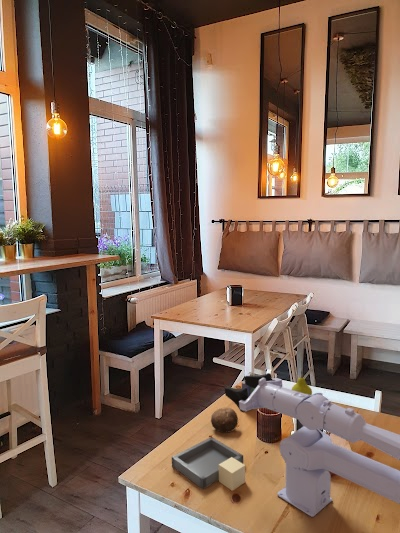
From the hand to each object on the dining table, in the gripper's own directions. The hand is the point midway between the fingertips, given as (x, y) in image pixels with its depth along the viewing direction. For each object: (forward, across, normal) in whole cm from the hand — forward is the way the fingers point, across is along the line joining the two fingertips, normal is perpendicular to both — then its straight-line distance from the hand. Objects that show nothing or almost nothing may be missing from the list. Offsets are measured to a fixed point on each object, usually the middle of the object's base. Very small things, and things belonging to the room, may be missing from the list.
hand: (236, 385), depth 103 cm
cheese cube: (-4, +9, +20) cm, 22 cm away
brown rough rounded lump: (+14, -7, +21) cm, 26 cm away
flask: (+17, -24, +22) cm, 37 cm away
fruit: (+7, -38, +24) cm, 45 cm away
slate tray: (+5, +9, +19) cm, 22 cm away
